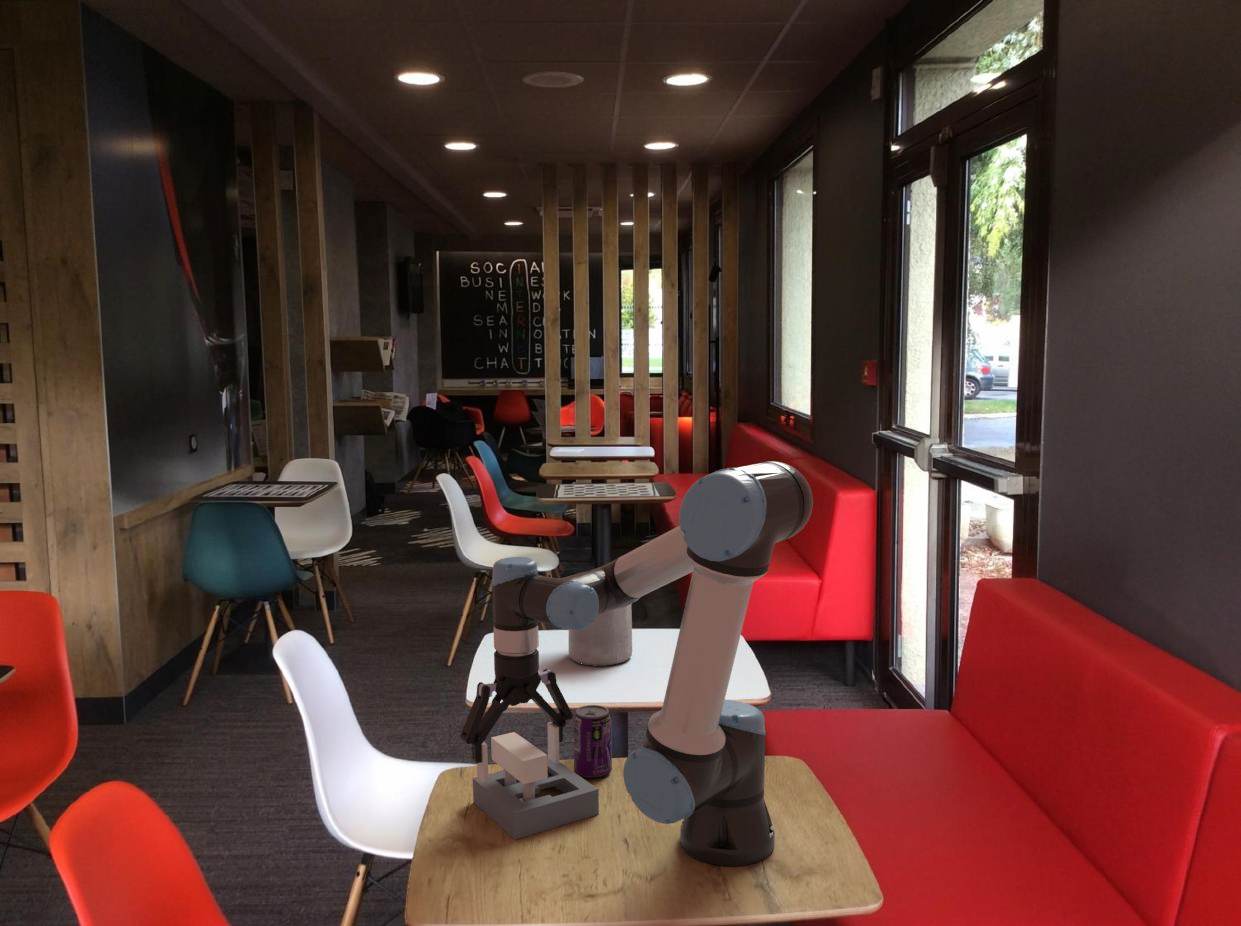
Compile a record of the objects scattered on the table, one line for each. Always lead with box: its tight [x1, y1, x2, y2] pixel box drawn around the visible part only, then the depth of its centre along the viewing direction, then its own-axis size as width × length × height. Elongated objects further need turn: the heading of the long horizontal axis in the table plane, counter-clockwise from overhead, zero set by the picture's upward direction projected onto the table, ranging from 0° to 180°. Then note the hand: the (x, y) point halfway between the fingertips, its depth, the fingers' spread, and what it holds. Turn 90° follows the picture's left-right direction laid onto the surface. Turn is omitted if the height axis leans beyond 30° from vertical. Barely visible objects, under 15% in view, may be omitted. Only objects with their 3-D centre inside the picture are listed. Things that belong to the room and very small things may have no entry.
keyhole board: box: [472, 758, 600, 840], centre depth 180 cm, size 16×16×4 cm
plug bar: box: [490, 731, 548, 802], centre depth 178 cm, size 12×4×12 cm, turn 33°
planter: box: [568, 604, 633, 667], centre depth 261 cm, size 16×16×16 cm
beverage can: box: [572, 704, 613, 779], centre depth 194 cm, size 7×7×12 cm
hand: (518, 769), depth 178 cm, fingers open, 13 cm apart
